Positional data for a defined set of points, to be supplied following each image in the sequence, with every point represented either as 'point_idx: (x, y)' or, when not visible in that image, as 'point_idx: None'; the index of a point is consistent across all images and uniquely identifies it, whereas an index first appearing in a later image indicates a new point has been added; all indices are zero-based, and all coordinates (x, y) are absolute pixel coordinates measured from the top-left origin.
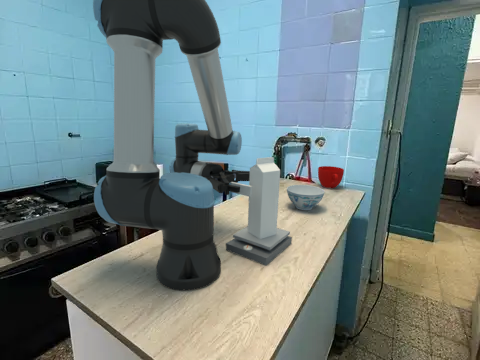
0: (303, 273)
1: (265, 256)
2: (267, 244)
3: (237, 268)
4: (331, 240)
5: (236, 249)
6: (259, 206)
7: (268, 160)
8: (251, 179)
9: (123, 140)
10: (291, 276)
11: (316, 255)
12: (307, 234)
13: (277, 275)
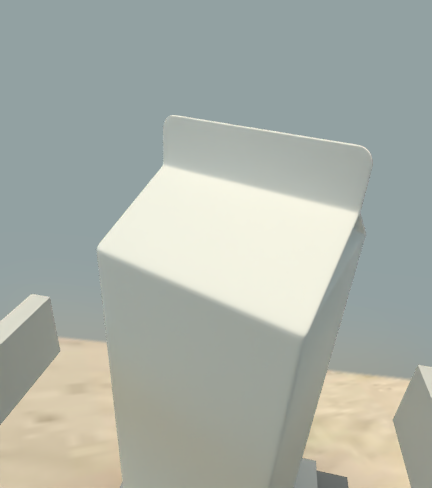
0: None
1: (338, 485)
2: (302, 477)
3: None
4: (87, 346)
5: None
6: (305, 437)
7: (219, 153)
8: (297, 402)
9: None
10: (334, 410)
11: None
12: (50, 409)
13: (359, 443)
